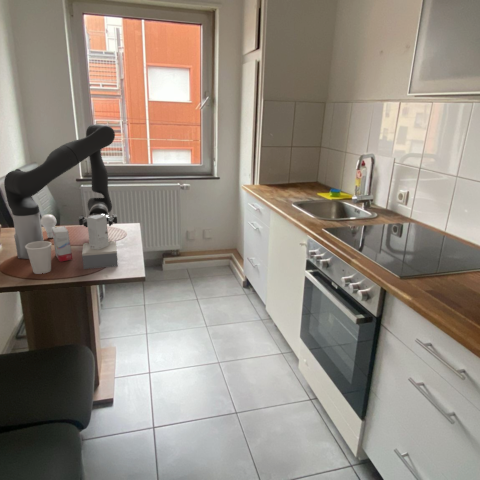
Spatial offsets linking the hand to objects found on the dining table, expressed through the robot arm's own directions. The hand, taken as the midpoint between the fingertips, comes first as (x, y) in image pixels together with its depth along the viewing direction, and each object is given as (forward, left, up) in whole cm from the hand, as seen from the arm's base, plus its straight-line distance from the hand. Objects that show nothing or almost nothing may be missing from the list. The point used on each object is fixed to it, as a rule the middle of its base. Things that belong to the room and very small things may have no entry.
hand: (98, 224), depth 146 cm
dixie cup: (-20, -8, -14) cm, 26 cm away
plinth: (0, -4, -14) cm, 14 cm away
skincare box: (0, -4, -8) cm, 9 cm away
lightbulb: (-22, +32, -14) cm, 41 cm away
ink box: (-14, +4, -14) cm, 20 cm away
